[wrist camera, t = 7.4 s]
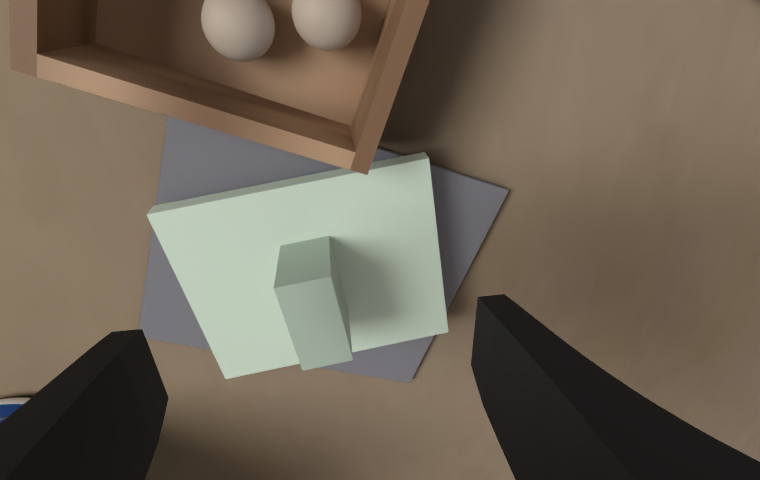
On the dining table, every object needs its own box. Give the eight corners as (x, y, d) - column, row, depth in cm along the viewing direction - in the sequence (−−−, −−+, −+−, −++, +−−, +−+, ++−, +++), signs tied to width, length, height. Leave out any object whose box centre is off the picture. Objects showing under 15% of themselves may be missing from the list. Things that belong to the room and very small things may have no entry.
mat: (506, 187, 19) (508, 190, 19) (408, 378, 24) (409, 383, 24) (174, 82, 16) (172, 83, 15) (139, 332, 21) (137, 337, 20)
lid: (421, 147, 18) (450, 187, 14) (441, 313, 22) (466, 379, 18) (158, 199, 17) (113, 255, 14) (230, 357, 22) (211, 434, 18)
